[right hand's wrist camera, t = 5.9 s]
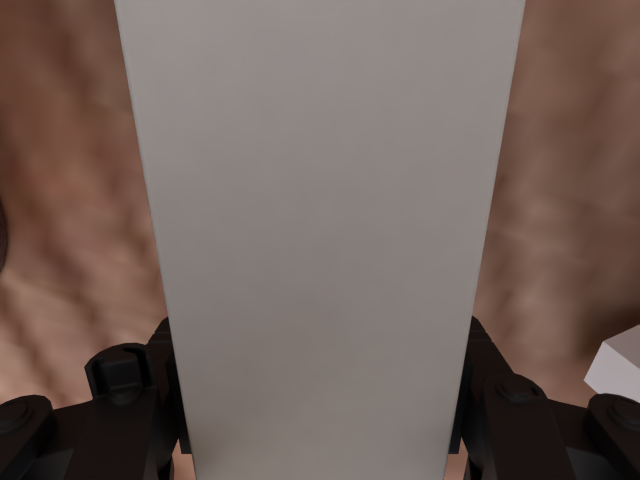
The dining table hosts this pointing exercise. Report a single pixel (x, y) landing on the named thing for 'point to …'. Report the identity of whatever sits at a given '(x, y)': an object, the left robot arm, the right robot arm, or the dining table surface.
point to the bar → (319, 220)
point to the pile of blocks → (617, 366)
